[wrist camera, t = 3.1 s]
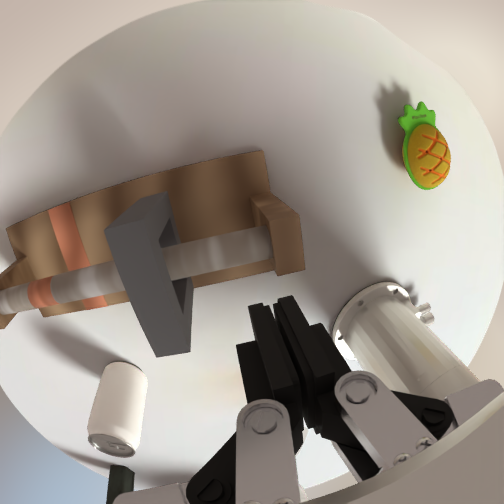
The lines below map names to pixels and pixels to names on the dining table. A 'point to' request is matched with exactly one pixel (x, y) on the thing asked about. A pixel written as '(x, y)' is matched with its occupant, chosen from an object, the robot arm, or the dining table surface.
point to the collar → (153, 273)
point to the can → (118, 410)
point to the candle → (119, 482)
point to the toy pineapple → (424, 147)
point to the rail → (193, 217)
